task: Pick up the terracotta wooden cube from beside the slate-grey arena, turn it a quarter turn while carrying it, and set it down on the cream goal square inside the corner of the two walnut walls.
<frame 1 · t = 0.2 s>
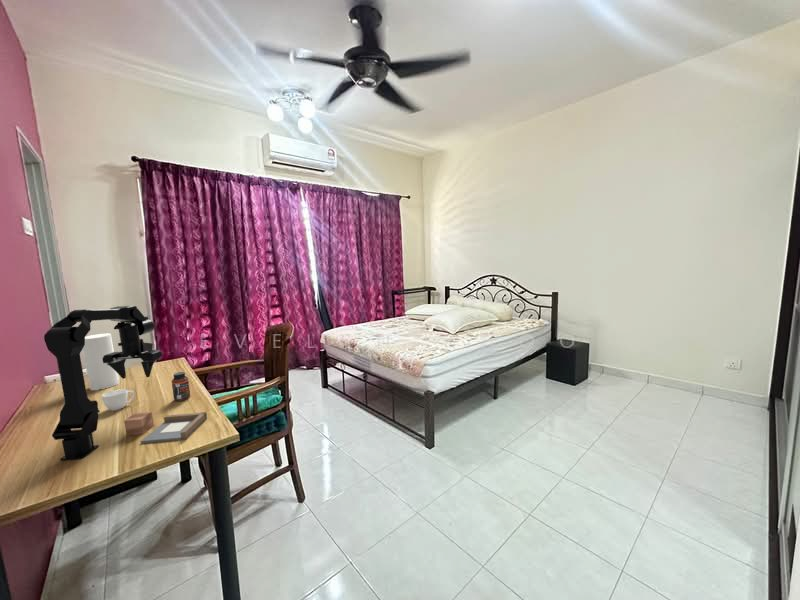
hand: (136, 377, 127), 14 cm above the table, fingers open, 9 cm apart
arena: (176, 430, 114), on the table
cube: (140, 430, 115), on the table
cup: (121, 407, 135), on the table
tall pillar cylinder: (105, 386, 160), on the table
supplement bottle: (182, 399, 141), on the table
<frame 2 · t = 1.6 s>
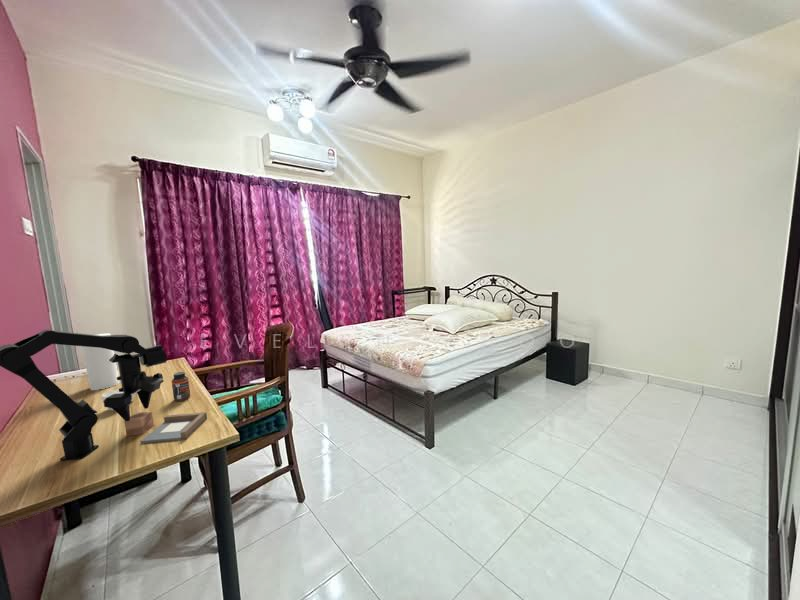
hand: (137, 414, 114), 6 cm above the table, fingers open, 9 cm apart
nothing on the table moved.
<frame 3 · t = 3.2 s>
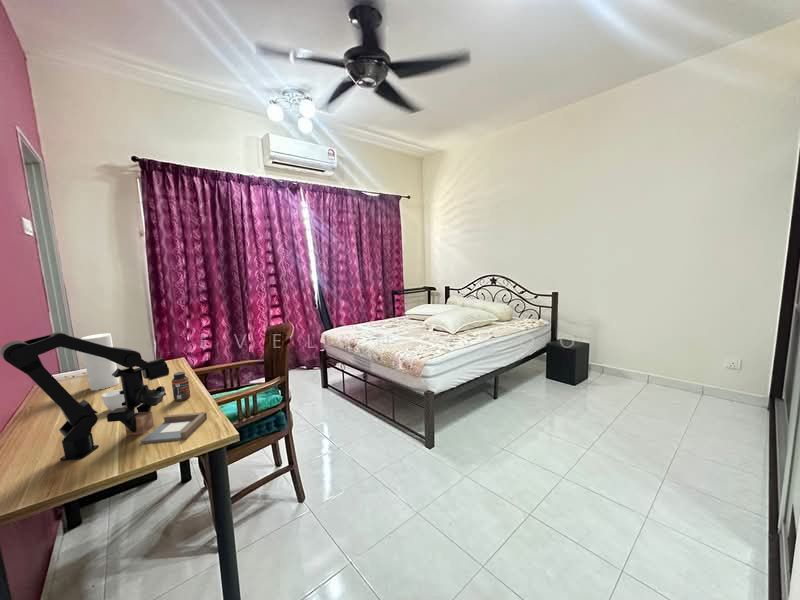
hand: (140, 427, 115), 1 cm above the table, fingers closed on cube, 5 cm apart
cube: (140, 430, 115), on the table, touching gripper
everything else where it was.
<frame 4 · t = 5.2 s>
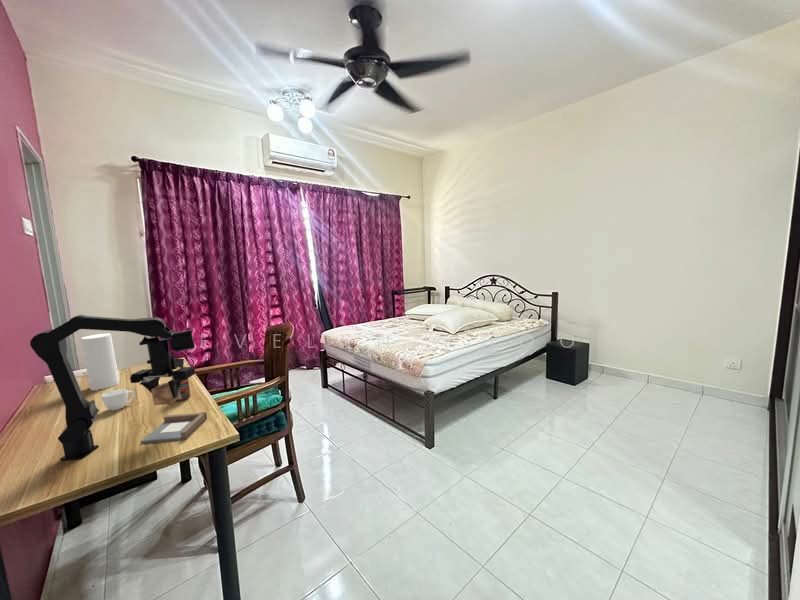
hand: (167, 398, 113), 11 cm above the table, fingers closed on cube, 5 cm apart
cube: (167, 400, 114), point 10 cm above the table, touching gripper
everything else where it was.
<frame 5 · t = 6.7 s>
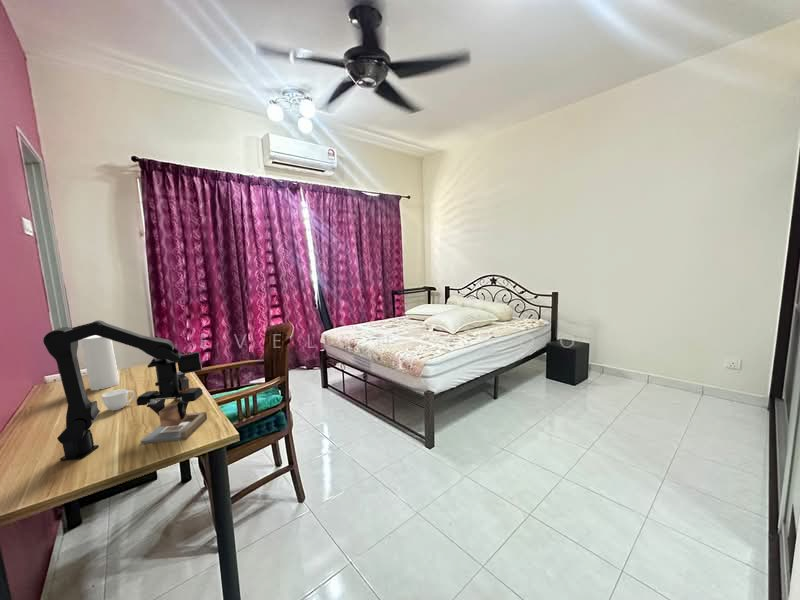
hand: (173, 419, 114), 4 cm above the table, fingers closed on cube, 5 cm apart
cube: (174, 422, 114), point 3 cm above the table, touching gripper
everything else where it was.
when the fingers open (3 cm above the table, at t = 7.6 s): cube drops 1 cm, resting on arena.
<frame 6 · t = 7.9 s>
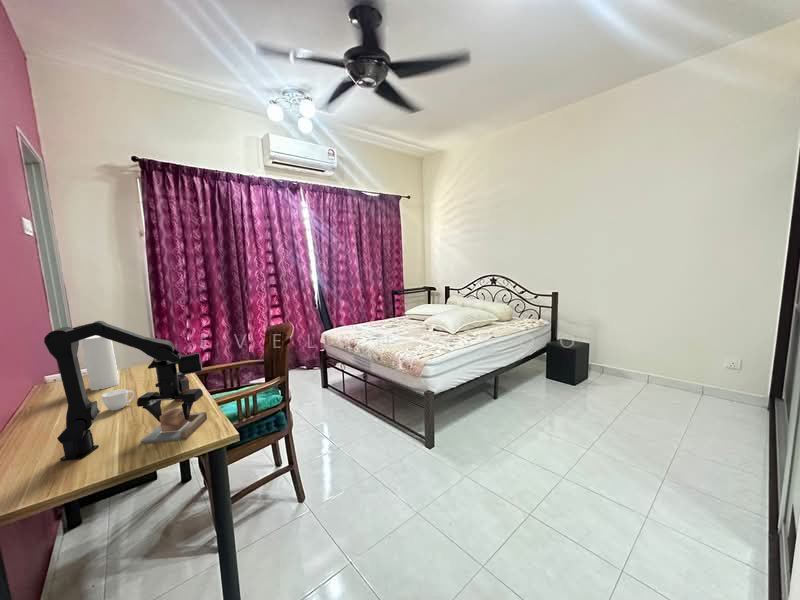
hand: (174, 420, 114), 3 cm above the table, fingers open, 8 cm apart
cube: (175, 426, 114), point 1 cm above the table, touching arena
everything else where it was.
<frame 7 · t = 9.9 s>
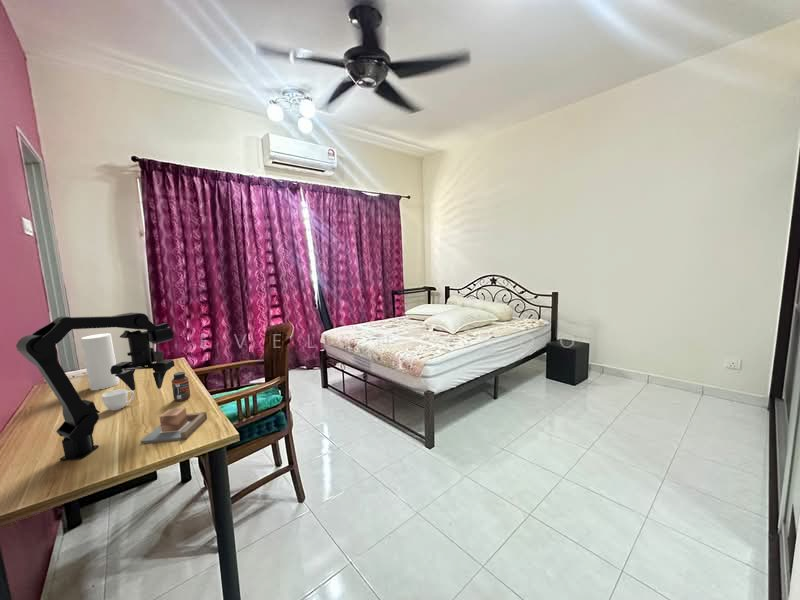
hand: (146, 389, 119), 13 cm above the table, fingers open, 9 cm apart
nothing on the table moved.
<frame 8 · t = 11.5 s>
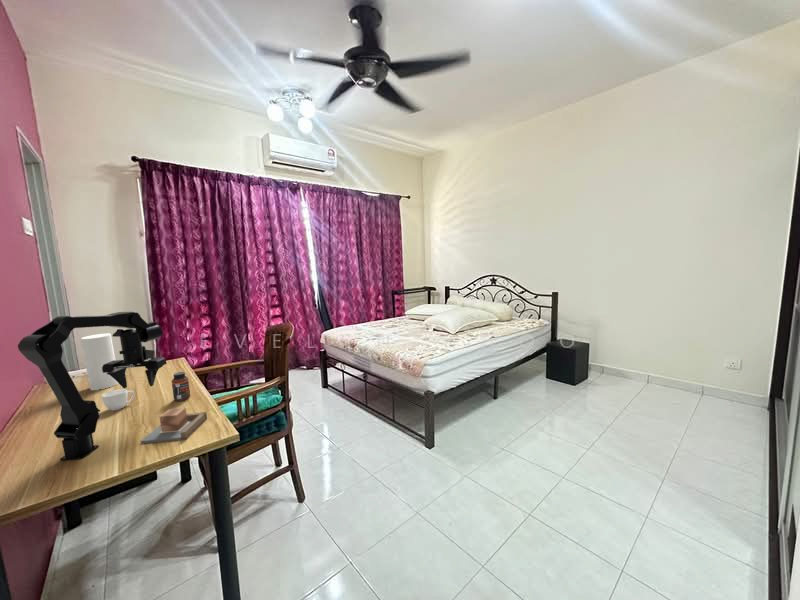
hand: (138, 387, 121), 13 cm above the table, fingers open, 9 cm apart
nothing on the table moved.
at the end: cube 0.1 cm off-centre on the arena, point 0.9 cm above the arena's base; cube tilted 0°; the gripper is holding nothing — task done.
